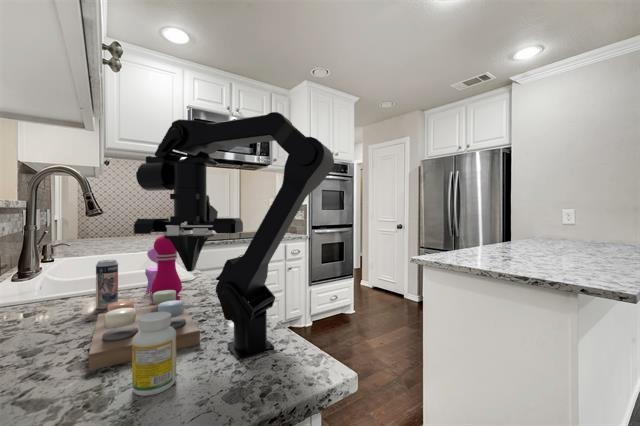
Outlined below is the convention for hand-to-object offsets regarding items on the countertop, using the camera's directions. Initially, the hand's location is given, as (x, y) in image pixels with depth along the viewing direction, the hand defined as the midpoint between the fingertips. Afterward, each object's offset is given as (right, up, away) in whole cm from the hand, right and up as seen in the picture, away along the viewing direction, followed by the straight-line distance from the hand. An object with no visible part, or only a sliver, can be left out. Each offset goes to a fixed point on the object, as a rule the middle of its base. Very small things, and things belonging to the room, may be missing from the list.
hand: (190, 271), depth 55 cm
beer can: (-31, -14, +20) cm, 39 cm away
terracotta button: (-16, -10, +4) cm, 19 cm away
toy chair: (-25, -14, +34) cm, 44 cm away
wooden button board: (-10, -13, +3) cm, 17 cm away
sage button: (-10, -9, +9) cm, 16 cm away
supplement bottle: (+2, -13, -15) cm, 20 cm away
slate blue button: (-4, -8, +1) cm, 9 cm away
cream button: (-11, -8, -4) cm, 14 cm away
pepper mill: (-16, -14, +22) cm, 30 cm away
